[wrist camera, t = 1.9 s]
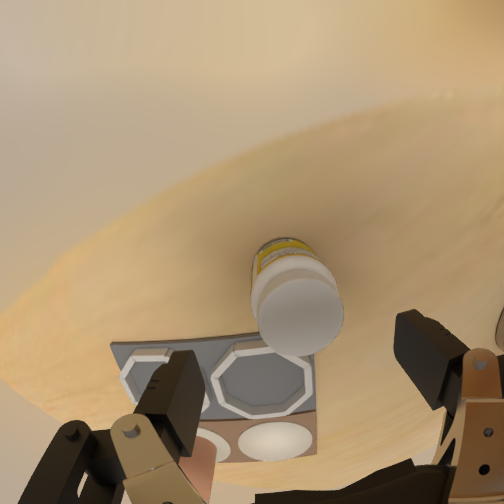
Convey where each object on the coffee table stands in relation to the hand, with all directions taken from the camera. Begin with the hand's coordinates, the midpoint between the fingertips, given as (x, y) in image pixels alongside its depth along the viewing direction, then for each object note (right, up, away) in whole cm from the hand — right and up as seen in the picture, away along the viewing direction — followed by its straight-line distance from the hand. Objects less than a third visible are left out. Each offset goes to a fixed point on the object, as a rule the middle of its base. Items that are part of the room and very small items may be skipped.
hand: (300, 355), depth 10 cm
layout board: (-5, -12, +14) cm, 19 cm away
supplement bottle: (+1, +3, +10) cm, 11 cm away
